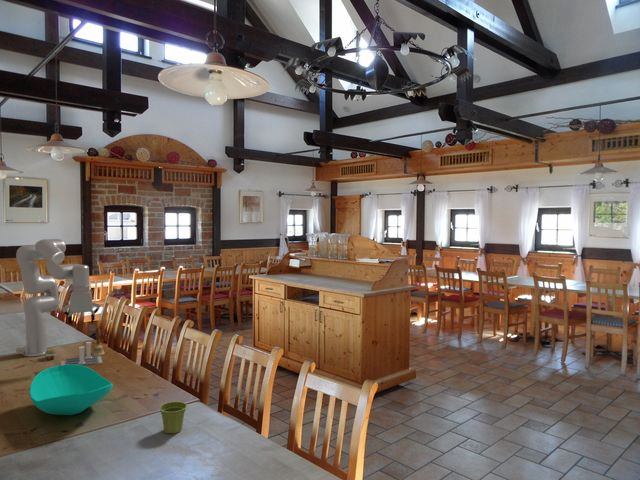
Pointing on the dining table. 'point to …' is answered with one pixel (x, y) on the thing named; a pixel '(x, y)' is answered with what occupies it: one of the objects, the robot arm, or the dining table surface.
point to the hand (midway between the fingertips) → (81, 323)
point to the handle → (88, 349)
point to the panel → (87, 361)
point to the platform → (50, 353)
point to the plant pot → (173, 416)
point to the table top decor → (68, 389)
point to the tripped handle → (81, 354)
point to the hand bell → (98, 344)
